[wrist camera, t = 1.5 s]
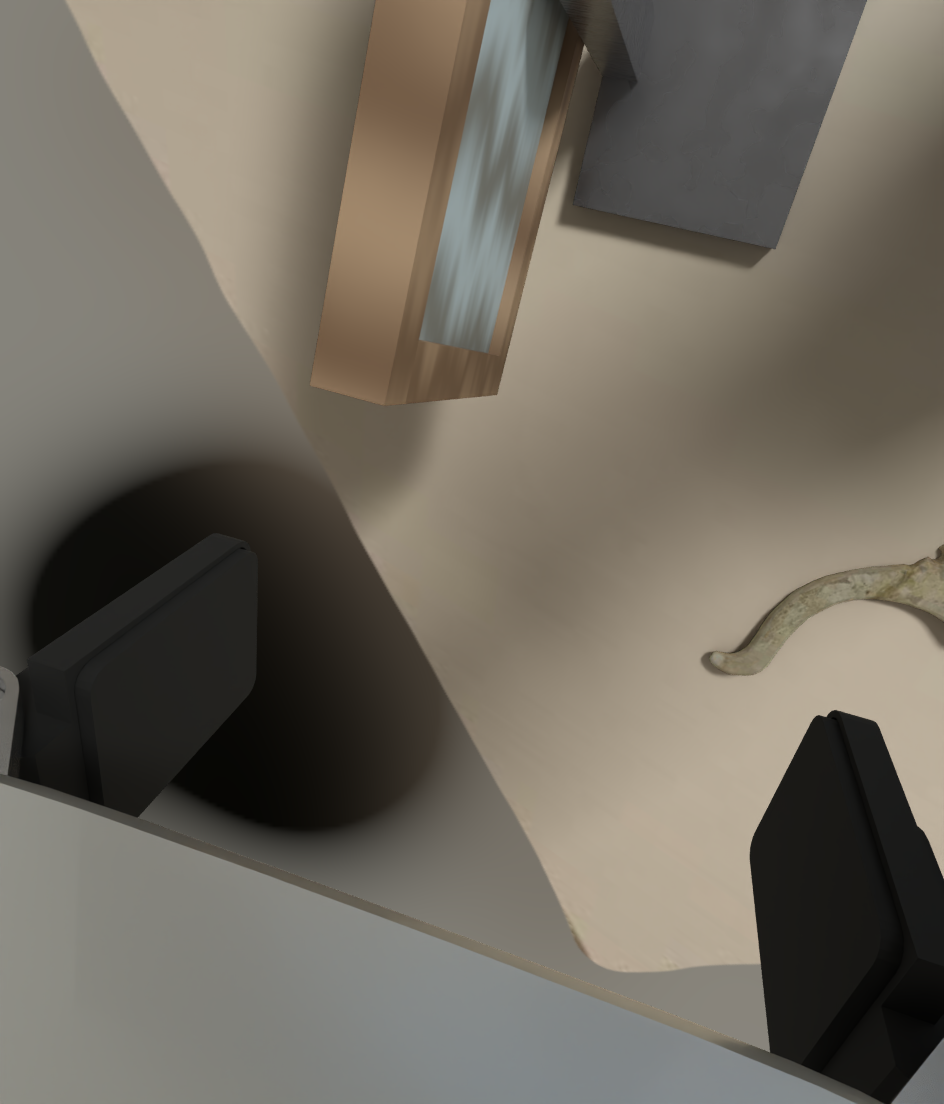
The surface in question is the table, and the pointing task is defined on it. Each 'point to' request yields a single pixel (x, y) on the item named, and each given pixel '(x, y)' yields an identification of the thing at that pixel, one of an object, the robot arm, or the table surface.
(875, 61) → the table surface
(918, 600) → the decorative wall piece
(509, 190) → the picture frame
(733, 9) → the frame stand
